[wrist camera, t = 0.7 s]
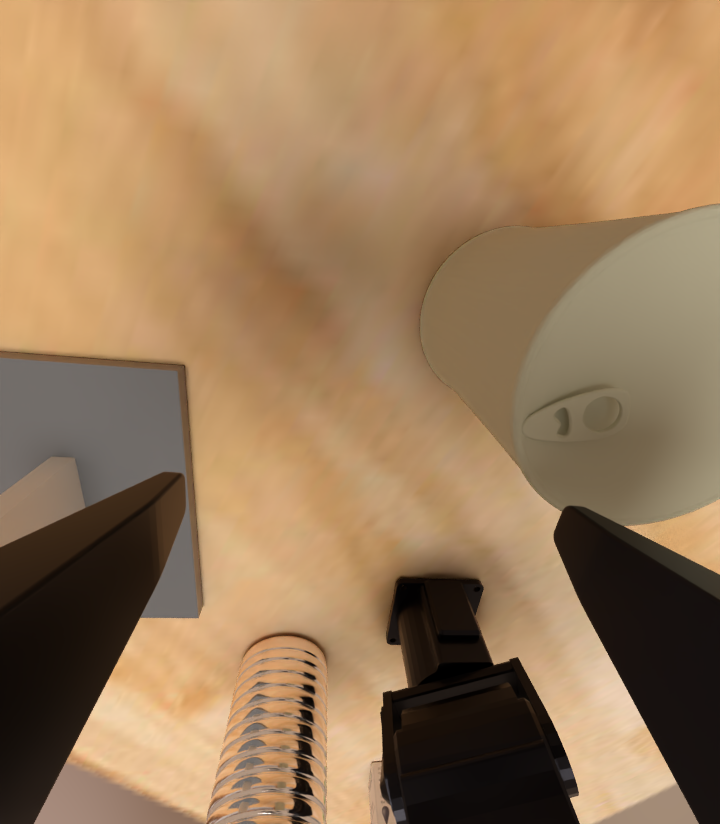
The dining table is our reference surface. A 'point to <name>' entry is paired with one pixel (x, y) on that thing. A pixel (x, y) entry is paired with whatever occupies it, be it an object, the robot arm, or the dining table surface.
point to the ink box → (378, 799)
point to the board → (106, 442)
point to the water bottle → (275, 738)
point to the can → (591, 357)
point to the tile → (40, 499)
